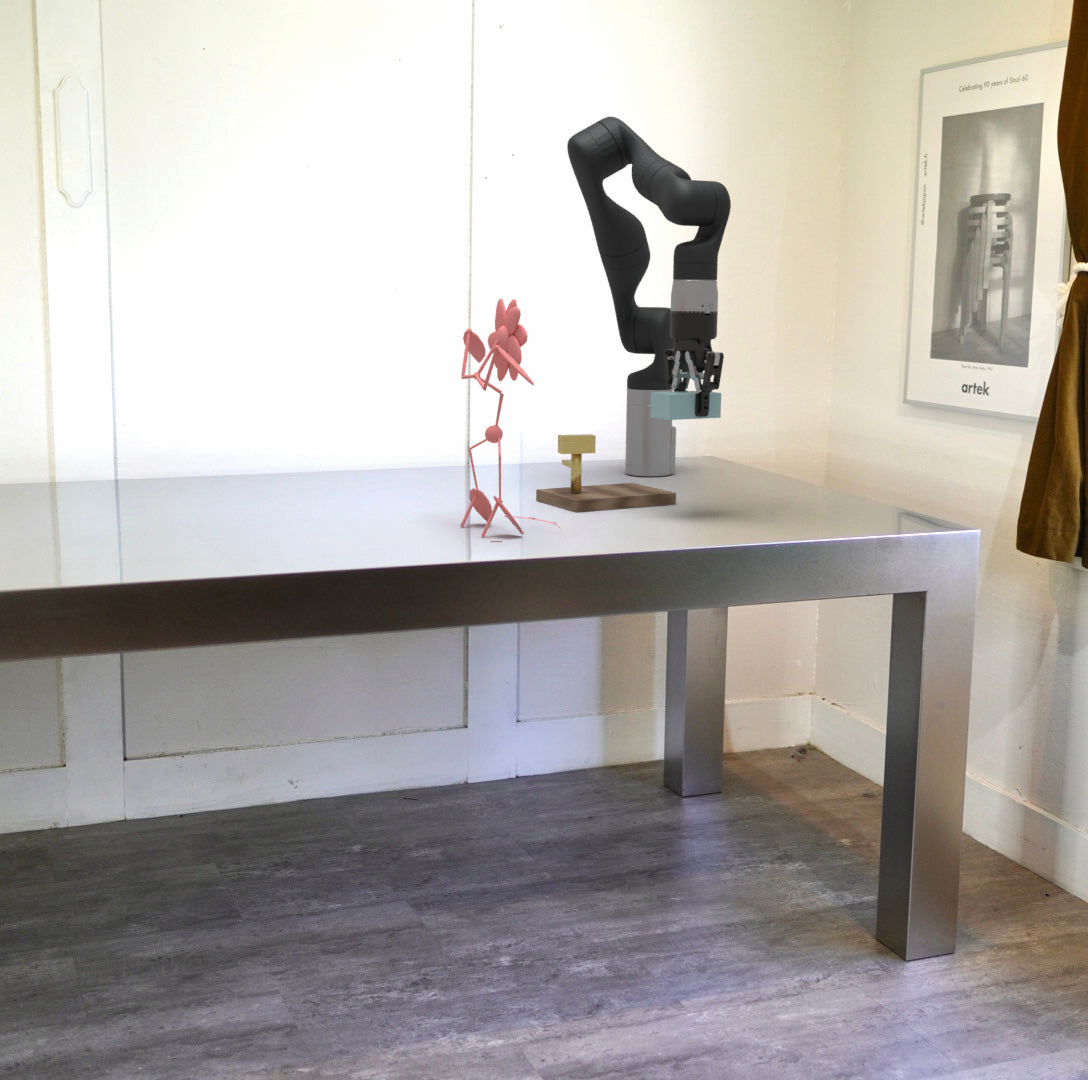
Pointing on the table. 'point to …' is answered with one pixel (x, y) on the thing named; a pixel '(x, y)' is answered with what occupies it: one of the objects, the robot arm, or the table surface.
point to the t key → (576, 455)
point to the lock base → (606, 497)
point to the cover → (682, 405)
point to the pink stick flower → (505, 356)
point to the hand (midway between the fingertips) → (690, 414)
